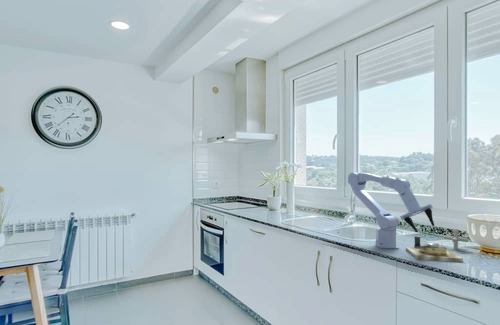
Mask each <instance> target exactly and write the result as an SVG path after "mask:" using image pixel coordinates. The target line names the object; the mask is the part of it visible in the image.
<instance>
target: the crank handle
mask: <svg viewBox="0 0 500 325" xmlns="http://www.w3.org/2000/svg"><path fill="white" fill-rule="evenodd" d="M413 246H414V247H413V248H416V249H419V252H421V253H424V254H429V255H437V256H442V255H446V254H447V250H448V249H447V248H448V247H446V246H443V245H439V243H436V242H426V243H421V237H420V236H414V245H413Z"/></svg>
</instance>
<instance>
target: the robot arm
mask: <svg viewBox="0 0 500 325" xmlns="http://www.w3.org/2000/svg"><path fill="white" fill-rule="evenodd" d="M347 176H348V177H347V183H348V184H349V185H350V187H351V190H352V193H353V194H354V195H355V196H356V197H357V198H358V199H359V200H360V201H361V203H362V204H364V205H365V207H366V208H367V209H368V210H369V211H370V212H371V213H372V214H373V215H374V216H375V221H376V222H377V224H378V227H380V228H376V230H375V245H376V246H377V247H378V248H379V249H380V248H381V249H397V250H398V249H400V247H399V246H397V227H398V226H399V224H400V221H399V218H398V217H397V216H396V215H394V214H392V213H391V212H389V211H388V210H386V209H384V208H383V207H382V206H381V205H380V204H379V203H378V202H377V201H376V200H375V199H374V198H373V197H372V196H371V195H370V194H369V193H368V192H367V191H366V190H365V188H366V184H367V182H369V181H370V182H375V183H378V184H380V185H381V187H384V188H388V189H392V190H394V191H396V192H397V193H398V195H399V196H400V198H401V201H402V202H403V205H405V207H406V210H407V211H408V212H406V213H405V214H403V215H401V216H399V217H400V219H401V220H402V221H404V222H405V223H407V224H408V225H409V226H410V227H411V228H412V229H413V230H414V232H415V233H419V231H418V228H417V226H415V223H414V222H413V218H412V217H414V216H416V215H419V214H421V213H422V214H423V213H424V214H425V215H426V216H427V219H428V220H429V222H430V225H431V226H432V227H435V223H434V222H435V221H434V220H433V210H432V209H434V207H433V205H432V204H431V203H430V204H427V205H424V206H422V207H421V205H420V203H419V202H418V200H417V198H416V196H415V194H414V192H413V191H412V189H411V183H410V181H409V180H408V179H405V178H401V179H400V177H393V176H391V175H390V174H385V175H383V176H379V175H376V174H373V173H369V172H350V173H349V174H348V175H347Z"/></svg>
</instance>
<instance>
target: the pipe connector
mask: <svg viewBox="0 0 500 325" xmlns="http://www.w3.org/2000/svg"><path fill="white" fill-rule="evenodd" d="M443 239H444V240H446V241H447V240H449V241H452V243H453V249H454V250H458V249H459V242H464V243H469V238H467V237H460V236H459V229H458V228H453V236H452V235H451V236H449V235H443Z"/></svg>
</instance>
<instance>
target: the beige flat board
mask: <svg viewBox="0 0 500 325" xmlns="http://www.w3.org/2000/svg"><path fill="white" fill-rule="evenodd" d="M405 251H406V252H407V253H408V254H410V255H411V256H412V257H414V259H416V260H417V261H418V260H419V261H438V262H453V263H454V262H456V263H458V262H459V263H463V262H464V259H463V257H461V256H459V255H457V254H456V253H454V252H452V251H451V250H449V249H447V254H446V255H442V256H437V255H429V254H424V253H421V252H419V249H416V248H414V247H410V246H408V247H407V246H406V247H405Z"/></svg>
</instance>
